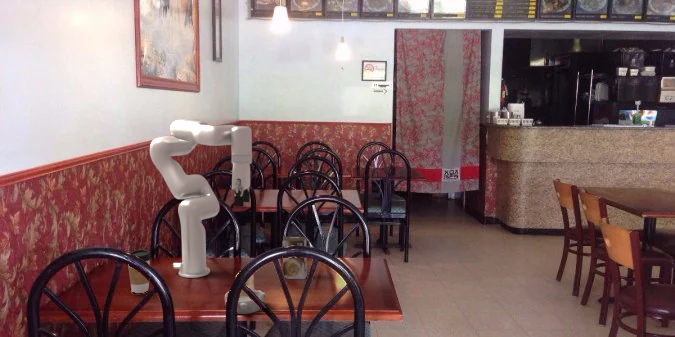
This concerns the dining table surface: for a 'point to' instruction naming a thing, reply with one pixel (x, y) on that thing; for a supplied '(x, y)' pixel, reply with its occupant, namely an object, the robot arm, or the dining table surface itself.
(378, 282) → the dining table surface
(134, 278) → the coffee cup
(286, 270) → the coffee box
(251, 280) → the maple block
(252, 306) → the dish
